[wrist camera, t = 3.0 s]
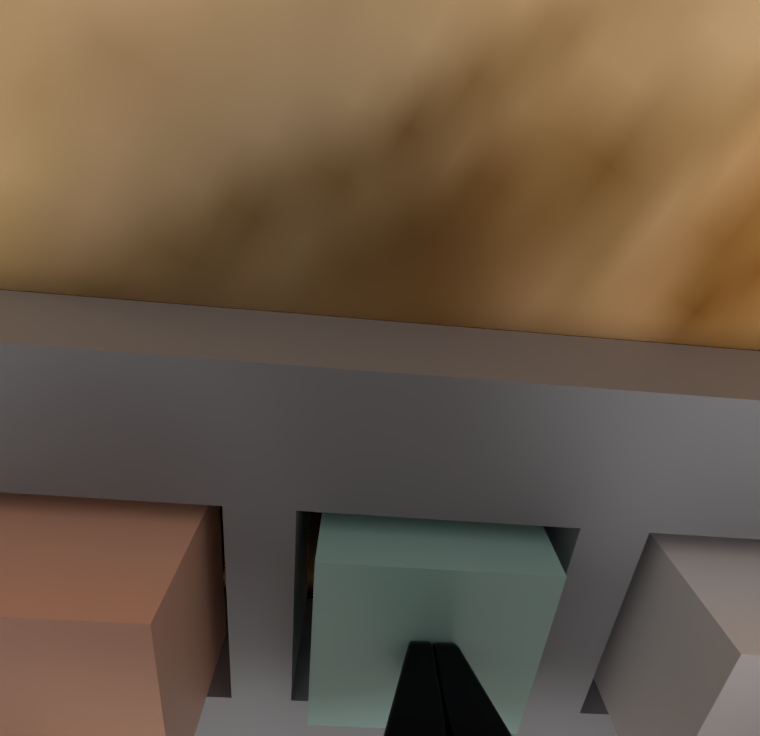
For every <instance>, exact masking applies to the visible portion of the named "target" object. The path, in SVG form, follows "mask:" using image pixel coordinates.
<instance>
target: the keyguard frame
mask: <svg viewBox="0 0 760 736" xmlns="http://www.w3.org/2000/svg"><path fill="white" fill-rule="evenodd" d="M0 492H3V493H19V494H35V495H51V496H67V497H83V498H99V499H115V500H131V501H147V502H163V503H179V504H196V505H212V506H222V509H223V530H224V551H225V572H226V592H227V594H224V601H225V621H226V636H225V639H224V643H223V646H222V649H221V652H220V655H219V659H218V662H217V665H216V668H215V671H214V674H213V678H212V681H211V684H210V687H209V690H208V694H207V697H206V700H205V703H204V706H203V710H202V713H201V716H200V719H199V722H198V726H197V729H196V732H195V735H194V736H383V735H384V732H385V728H365V727H342V726H318V725H307V719H308V698H309V676H310V654H311V633H312V611H313V599H307V582H308V556H309V531H310V512H324V513H340V514H356V515H372V516H389V517H405V518H421V519H437V520H453V521H469V522H485V523H501V524H517V525H533V526H543V527H544V529H545V531H546V533H547V536H548V538H549V540H550V542H551V544H552V546H553V548H554V550H555V553H556V555H557V557H558V559H559V561H560V563H561V565H562V568H563V570H564V572H565V574H566V576H567V578H566V581H565V584H564V587H563V590H562V594H561V597H560V600H559V603H558V606H557V609H556V613H555V616H554V619H553V622H552V625H551V628H550V632H549V635H548V638H547V641H546V644H545V647H544V651H543V654H542V657H541V660H540V663H539V666H538V670H537V673H536V676H535V679H534V682H533V685H532V689H531V692H530V695H529V698H528V701H527V704H526V707H525V711H524V714H523V717H522V720H521V723H520V726H519V730H518V733H517V734H511V735H512V736H618V735H617V732H616V730H615V728H614V725H613V723H612V721H611V718H610V716H609V714H608V711H607V709H606V707H605V704H604V702H603V699H602V697H601V695H600V692H599V690H598V688H597V685H596V683H595V681H594V678H593V677H594V675H595V672H596V670H597V667H598V664H599V662H600V659H601V657H602V654H603V652H604V649H605V646H606V644H607V641H608V639H609V636H610V633H611V631H612V628H613V626H614V623H615V620H616V618H617V615H618V613H619V610H620V608H621V605H622V602H623V600H624V597H625V595H626V592H627V589H628V587H629V584H630V582H631V579H632V576H633V574H634V571H635V569H636V566H637V563H638V561H639V558H640V556H641V553H642V551H643V548H644V545H645V543H646V540H647V538H648V535H649V533H662V534H678V535H694V536H710V537H726V538H742V539H758V540H760V351H753V350H741V349H728V348H716V347H704V346H691V345H679V344H666V343H654V342H642V341H629V340H617V339H604V338H592V337H580V336H567V335H555V334H542V333H530V332H518V331H505V330H493V329H480V328H468V327H456V326H443V325H431V324H418V323H406V322H394V321H381V320H369V319H356V318H344V317H332V316H319V315H307V314H294V313H282V312H270V311H257V310H245V309H232V308H220V307H208V306H195V305H183V304H170V303H158V302H146V301H133V300H121V299H108V298H96V297H84V296H71V295H59V294H46V293H34V292H22V291H9V290H0Z"/></svg>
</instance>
